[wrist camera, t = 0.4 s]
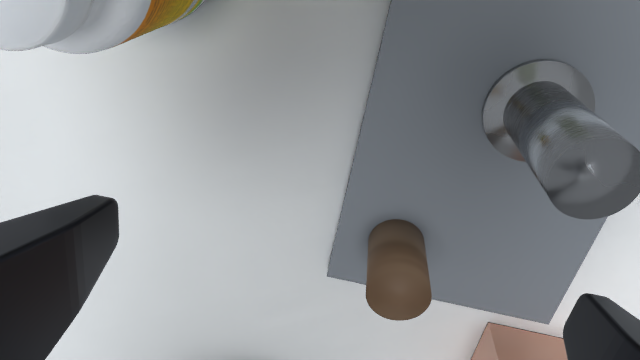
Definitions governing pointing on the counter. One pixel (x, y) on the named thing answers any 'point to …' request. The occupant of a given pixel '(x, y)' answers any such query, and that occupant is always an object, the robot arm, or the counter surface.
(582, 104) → the marker post
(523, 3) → the board
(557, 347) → the terracotta colored cuboid
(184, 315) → the counter surface
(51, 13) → the supplement bottle
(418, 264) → the walnut post
